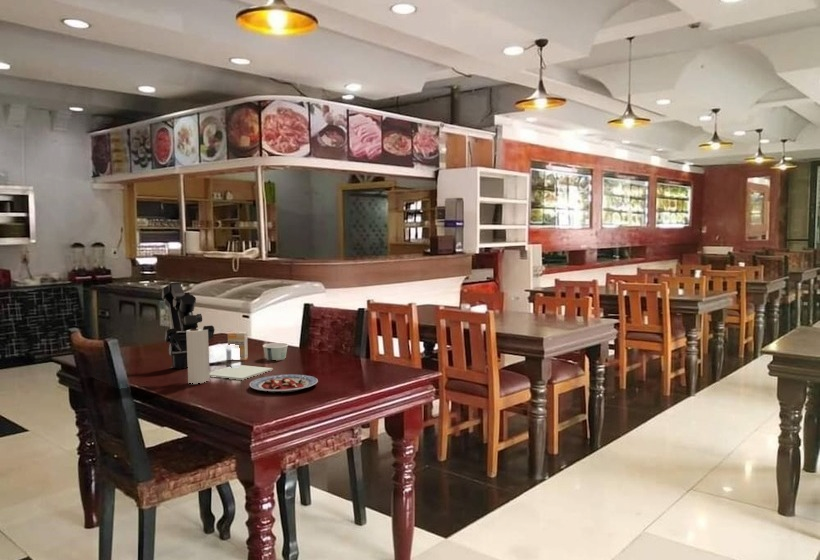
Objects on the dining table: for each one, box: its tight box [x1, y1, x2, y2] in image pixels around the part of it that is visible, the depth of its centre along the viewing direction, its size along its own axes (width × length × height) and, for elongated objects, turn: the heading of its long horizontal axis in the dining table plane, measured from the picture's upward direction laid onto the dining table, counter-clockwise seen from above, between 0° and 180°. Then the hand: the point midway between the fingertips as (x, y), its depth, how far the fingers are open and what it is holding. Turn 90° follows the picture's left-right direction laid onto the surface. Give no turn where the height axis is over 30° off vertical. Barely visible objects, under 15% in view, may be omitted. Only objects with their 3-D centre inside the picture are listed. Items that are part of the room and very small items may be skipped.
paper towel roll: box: [186, 328, 211, 385], centre depth 245 cm, size 7×6×21 cm
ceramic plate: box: [249, 373, 319, 393], centre depth 238 cm, size 26×26×3 cm
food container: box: [262, 342, 289, 361], centre depth 293 cm, size 12×12×6 cm
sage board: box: [209, 364, 274, 381], centre depth 262 cm, size 20×20×1 cm
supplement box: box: [227, 331, 249, 362], centre depth 291 cm, size 8×5×13 cm, turn 88°
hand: (193, 350), depth 248 cm, fingers open, 9 cm apart
